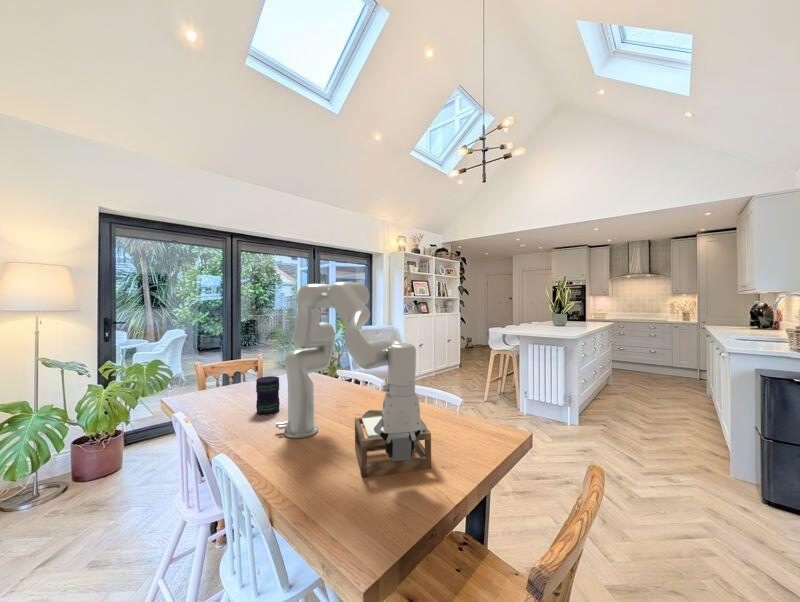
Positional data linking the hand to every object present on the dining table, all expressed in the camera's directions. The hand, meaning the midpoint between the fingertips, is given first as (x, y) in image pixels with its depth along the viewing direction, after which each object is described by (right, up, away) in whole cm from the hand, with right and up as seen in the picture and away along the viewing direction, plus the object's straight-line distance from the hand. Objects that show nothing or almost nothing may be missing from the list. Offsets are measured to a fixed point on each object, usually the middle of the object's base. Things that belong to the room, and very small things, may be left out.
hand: (399, 453), depth 88 cm
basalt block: (0, -1, 0) cm, 1 cm away
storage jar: (-60, -9, +57) cm, 83 cm away
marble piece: (-7, -9, +43) cm, 44 cm away
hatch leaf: (-4, -2, +14) cm, 15 cm away
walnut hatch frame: (-3, -8, +14) cm, 17 cm away
